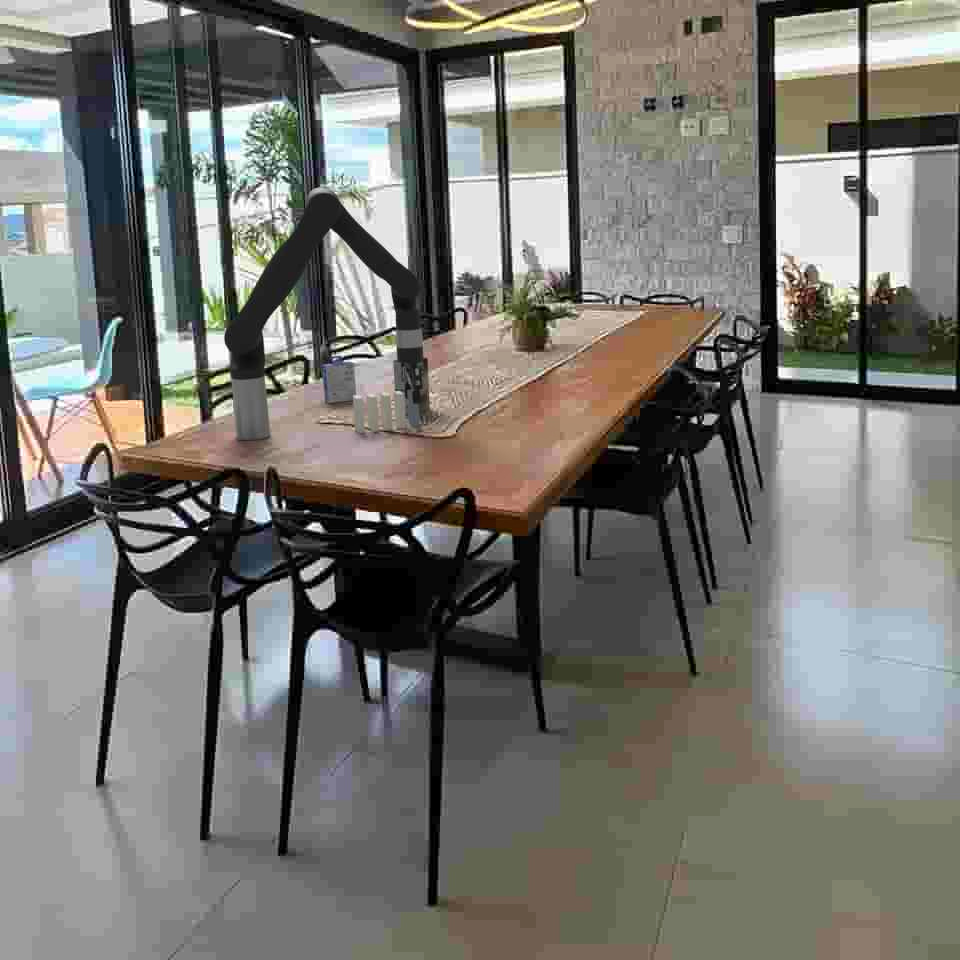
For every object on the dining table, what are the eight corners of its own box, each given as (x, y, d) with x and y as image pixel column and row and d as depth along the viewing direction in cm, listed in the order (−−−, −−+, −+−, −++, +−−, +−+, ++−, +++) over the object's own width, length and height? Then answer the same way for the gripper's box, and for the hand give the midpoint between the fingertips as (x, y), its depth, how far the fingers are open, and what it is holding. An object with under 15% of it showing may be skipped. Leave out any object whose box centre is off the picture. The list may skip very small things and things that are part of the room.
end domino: (415, 423, 320) (413, 389, 317) (419, 426, 315) (417, 392, 313) (409, 423, 319) (407, 389, 317) (413, 427, 315) (411, 392, 312)
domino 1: (358, 433, 310) (356, 398, 307) (355, 429, 315) (352, 395, 312) (365, 432, 311) (362, 398, 308) (361, 429, 315) (358, 395, 313)
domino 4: (400, 428, 314) (397, 394, 311) (395, 425, 318) (393, 391, 316) (406, 428, 314) (404, 393, 311) (401, 424, 319) (399, 390, 316)
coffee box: (410, 414, 332) (407, 362, 327) (395, 412, 336) (392, 360, 331) (430, 409, 339) (428, 357, 334) (415, 407, 343) (412, 356, 338)
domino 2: (372, 431, 311) (370, 397, 309) (368, 428, 316) (366, 394, 313) (378, 431, 312) (376, 396, 309) (375, 427, 316) (372, 393, 314)
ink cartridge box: (352, 397, 362) (349, 353, 358) (357, 400, 357) (354, 356, 354) (323, 401, 358) (320, 357, 354) (328, 403, 354) (325, 359, 350)
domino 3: (386, 430, 312) (384, 395, 310) (382, 426, 317) (380, 392, 314) (392, 429, 313) (390, 395, 310) (388, 426, 318) (386, 392, 315)
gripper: (429, 346, 306) (432, 404, 310) (415, 340, 319) (419, 395, 323) (403, 349, 303) (406, 406, 308) (390, 342, 317) (394, 398, 321)
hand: (412, 400), depth 315 cm, fingers open, 8 cm apart
